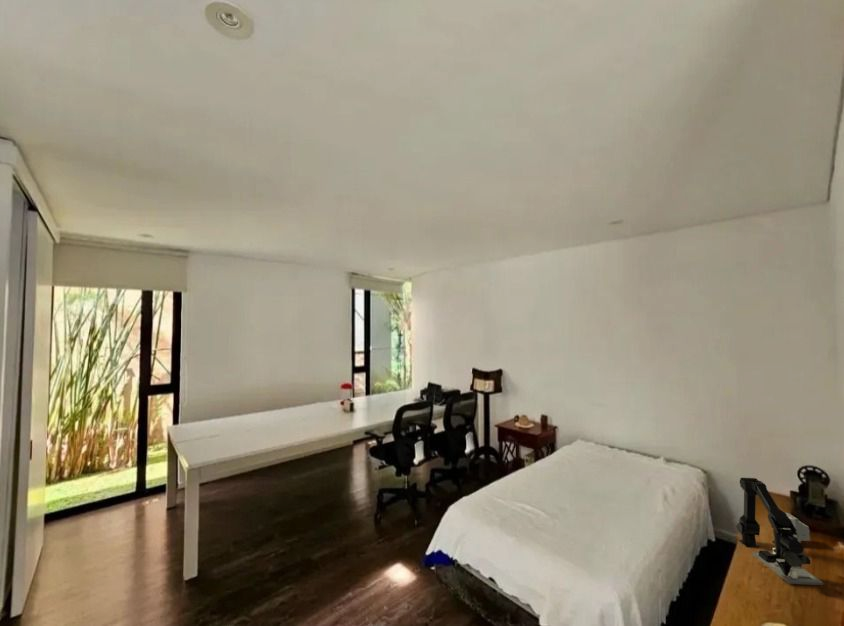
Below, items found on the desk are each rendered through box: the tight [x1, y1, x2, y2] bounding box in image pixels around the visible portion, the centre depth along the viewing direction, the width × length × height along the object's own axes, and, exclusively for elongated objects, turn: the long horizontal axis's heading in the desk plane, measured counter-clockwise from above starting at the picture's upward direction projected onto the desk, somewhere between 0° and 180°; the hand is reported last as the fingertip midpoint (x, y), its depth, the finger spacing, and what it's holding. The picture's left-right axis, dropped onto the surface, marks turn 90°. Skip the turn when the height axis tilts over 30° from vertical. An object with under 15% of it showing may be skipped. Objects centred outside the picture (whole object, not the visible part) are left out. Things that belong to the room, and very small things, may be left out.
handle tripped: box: [789, 568, 798, 579], centre depth 179 cm, size 2×2×3 cm
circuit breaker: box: [783, 512, 811, 543], centre depth 209 cm, size 8×14×15 cm, turn 78°
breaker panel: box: [751, 551, 824, 586], centre depth 187 cm, size 24×14×1 cm, turn 172°
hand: (785, 575), depth 180 cm, fingers closed
